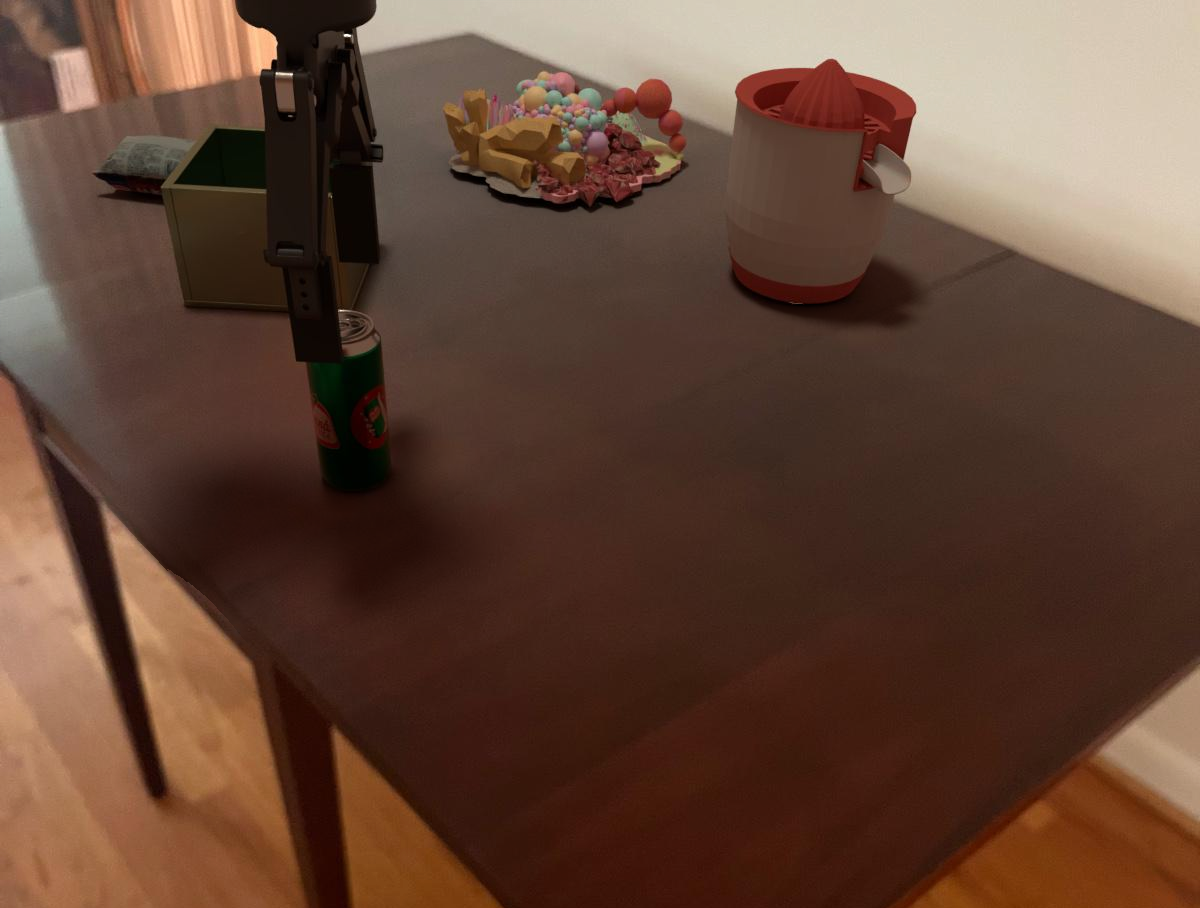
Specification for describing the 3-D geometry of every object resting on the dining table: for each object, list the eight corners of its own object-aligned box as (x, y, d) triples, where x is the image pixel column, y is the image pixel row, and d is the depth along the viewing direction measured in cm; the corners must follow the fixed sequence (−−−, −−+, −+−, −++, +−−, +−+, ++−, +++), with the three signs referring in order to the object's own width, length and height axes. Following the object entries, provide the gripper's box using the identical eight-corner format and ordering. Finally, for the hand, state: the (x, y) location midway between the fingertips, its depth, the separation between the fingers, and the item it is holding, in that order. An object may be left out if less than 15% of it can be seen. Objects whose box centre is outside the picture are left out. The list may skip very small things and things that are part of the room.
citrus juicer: (812, 343, 102) (857, 109, 89) (679, 268, 112) (701, 47, 99) (924, 296, 110) (981, 75, 97) (791, 231, 120) (825, 21, 107)
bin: (184, 306, 102) (160, 187, 95) (228, 235, 113) (209, 123, 106) (351, 315, 102) (339, 197, 95) (379, 244, 113) (370, 133, 106)
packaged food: (138, 165, 124) (127, 117, 121) (242, 179, 123) (235, 131, 120) (95, 197, 118) (83, 148, 115) (205, 212, 116) (196, 163, 113)
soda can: (315, 461, 85) (294, 311, 77) (383, 450, 87) (370, 302, 79) (328, 501, 82) (308, 348, 74) (399, 488, 83) (387, 338, 75)
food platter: (597, 229, 118) (601, 137, 112) (409, 174, 126) (403, 85, 120) (705, 155, 134) (714, 71, 128) (533, 111, 143) (534, 30, 137)
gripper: (322, 5, 52) (365, 413, 66) (405, -107, 71) (425, 229, 85) (154, -4, 52) (233, 406, 66) (281, -113, 71) (322, 224, 85)
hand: (341, 307), depth 75 cm, fingers open, 13 cm apart
